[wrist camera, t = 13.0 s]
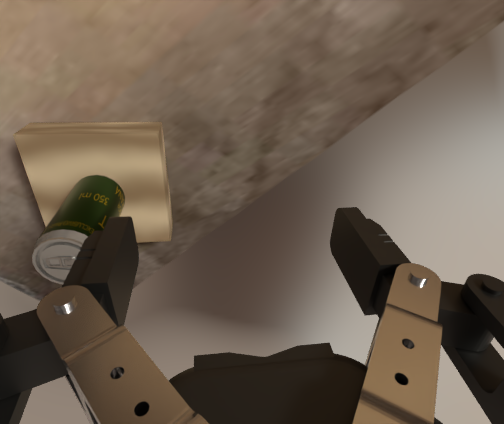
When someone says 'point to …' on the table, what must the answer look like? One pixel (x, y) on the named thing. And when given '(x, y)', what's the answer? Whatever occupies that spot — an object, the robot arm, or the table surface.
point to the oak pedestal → (101, 168)
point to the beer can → (76, 224)
